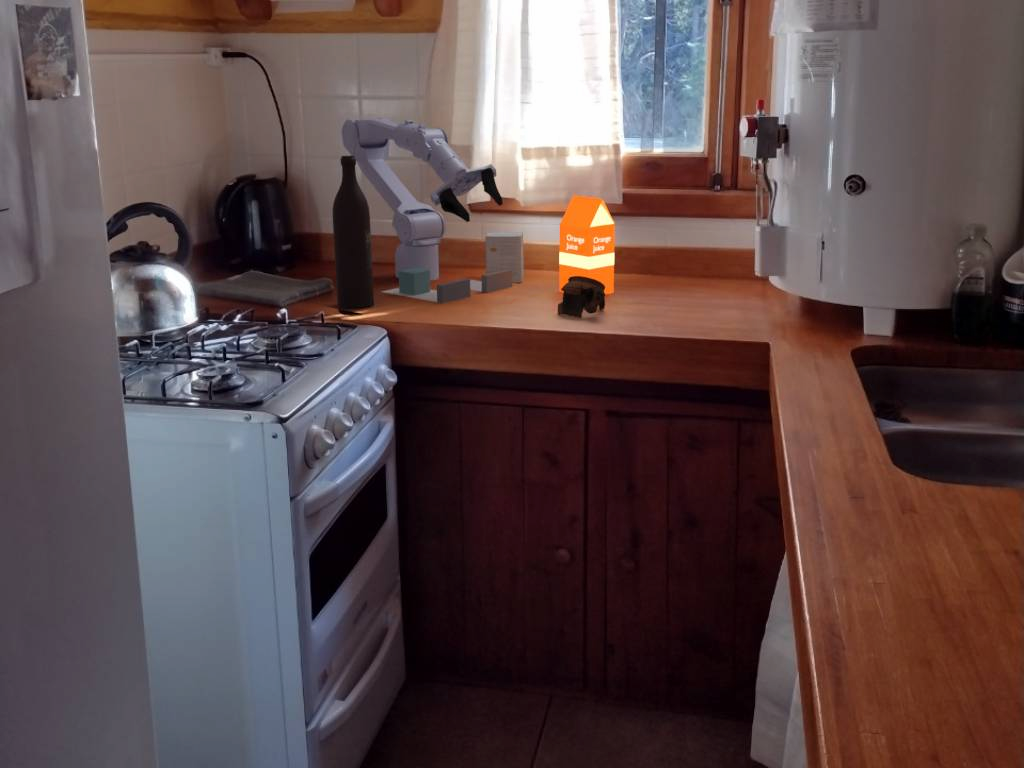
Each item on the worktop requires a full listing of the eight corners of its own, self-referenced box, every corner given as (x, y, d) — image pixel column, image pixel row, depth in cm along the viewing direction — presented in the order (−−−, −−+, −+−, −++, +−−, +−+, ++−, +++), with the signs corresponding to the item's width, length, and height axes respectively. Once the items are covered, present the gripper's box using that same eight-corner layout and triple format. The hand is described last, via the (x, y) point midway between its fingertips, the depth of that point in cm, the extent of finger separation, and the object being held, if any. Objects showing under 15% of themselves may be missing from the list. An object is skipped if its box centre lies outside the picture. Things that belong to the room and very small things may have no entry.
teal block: (399, 292, 219) (398, 271, 218) (415, 289, 223) (414, 267, 221) (414, 295, 217) (413, 273, 215) (430, 291, 220) (429, 270, 218)
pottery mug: (544, 314, 207) (555, 275, 208) (583, 331, 211) (594, 292, 213) (578, 310, 196) (590, 268, 198) (618, 327, 201) (629, 286, 202)
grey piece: (381, 296, 221) (380, 275, 219) (409, 290, 227) (408, 269, 225) (442, 308, 209) (442, 285, 208) (470, 301, 215) (470, 279, 214)
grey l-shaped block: (438, 288, 228) (438, 268, 226) (464, 283, 233) (464, 262, 232) (487, 297, 219) (486, 275, 217) (512, 291, 225) (512, 270, 223)
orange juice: (588, 298, 219) (589, 200, 213) (558, 291, 225) (558, 196, 219) (614, 292, 224) (616, 197, 218) (584, 286, 230) (585, 193, 224)
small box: (524, 278, 240) (523, 231, 237) (521, 283, 234) (521, 235, 231) (488, 278, 240) (488, 231, 237) (485, 283, 235) (485, 235, 232)
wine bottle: (375, 314, 206) (367, 157, 197) (338, 316, 205) (329, 158, 196) (373, 307, 212) (366, 154, 204) (337, 308, 211) (329, 155, 203)
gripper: (417, 170, 214) (451, 212, 207) (479, 140, 217) (514, 180, 211) (421, 194, 220) (454, 235, 213) (481, 164, 223) (515, 204, 217)
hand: (484, 210), depth 212 cm, fingers open, 7 cm apart
